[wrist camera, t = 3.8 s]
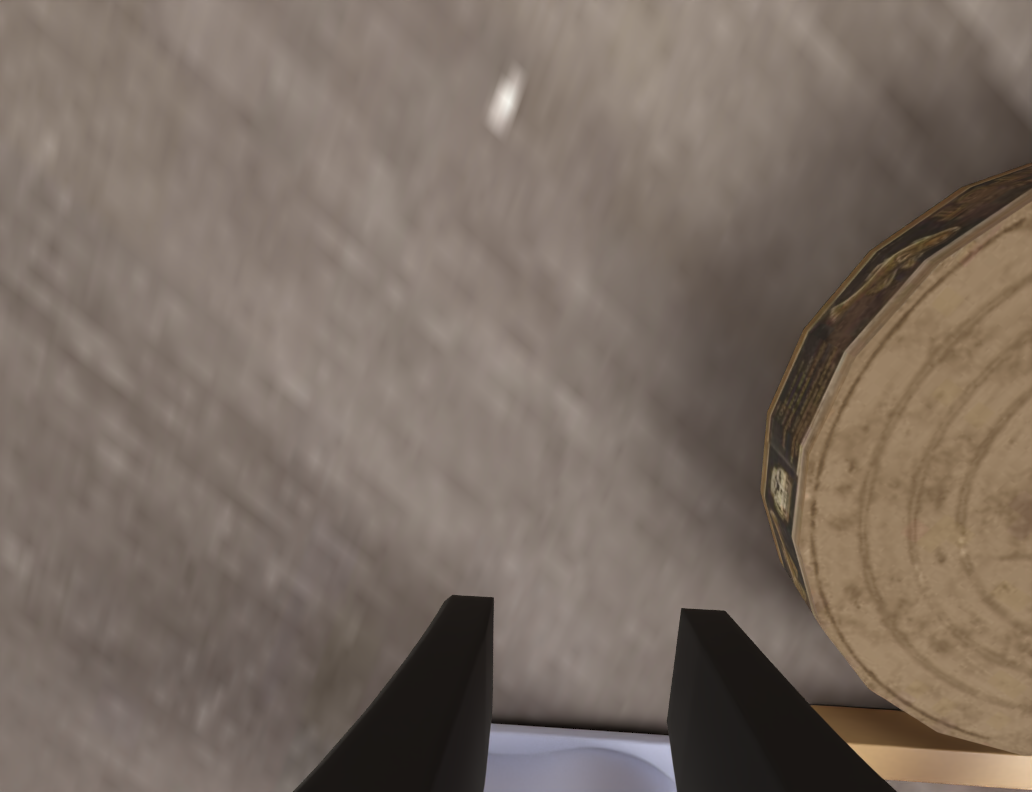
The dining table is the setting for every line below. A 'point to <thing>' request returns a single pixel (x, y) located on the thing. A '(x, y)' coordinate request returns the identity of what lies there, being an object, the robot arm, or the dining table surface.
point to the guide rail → (924, 750)
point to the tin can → (920, 466)
